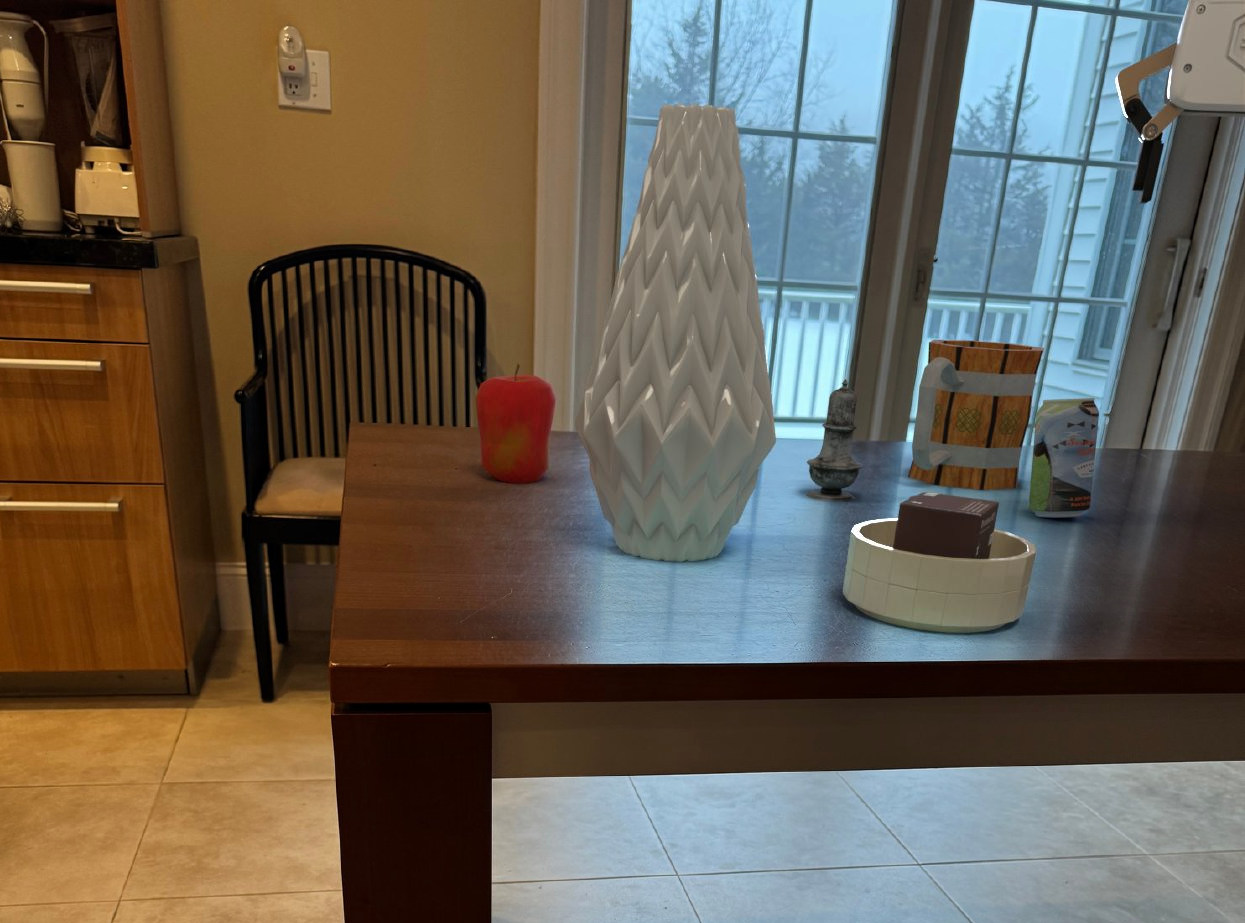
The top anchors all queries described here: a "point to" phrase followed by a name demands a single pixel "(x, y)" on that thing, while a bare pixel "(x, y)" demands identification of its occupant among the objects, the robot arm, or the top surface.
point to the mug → (973, 413)
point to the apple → (515, 426)
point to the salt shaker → (836, 449)
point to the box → (946, 526)
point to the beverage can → (1063, 457)
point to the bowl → (936, 582)
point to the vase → (682, 353)
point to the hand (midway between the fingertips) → (1211, 205)
